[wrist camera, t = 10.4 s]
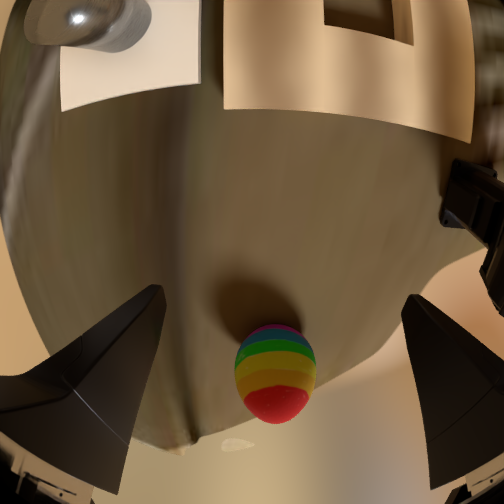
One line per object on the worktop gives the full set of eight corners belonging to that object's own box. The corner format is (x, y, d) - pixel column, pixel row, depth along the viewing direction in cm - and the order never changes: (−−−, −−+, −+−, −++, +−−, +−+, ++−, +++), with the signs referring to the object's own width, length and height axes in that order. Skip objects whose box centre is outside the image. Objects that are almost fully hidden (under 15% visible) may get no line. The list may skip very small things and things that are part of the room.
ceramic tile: (203, -45, 10) (201, -49, 9) (201, 83, 16) (198, 82, 15) (71, -5, 10) (66, -7, 9) (67, 110, 16) (61, 111, 16)
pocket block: (439, -34, 7) (455, -42, 5) (449, 136, 16) (470, 143, 14) (231, -76, 8) (227, -94, 5) (229, 108, 17) (223, 109, 14)
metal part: (153, -10, 11) (100, -50, 4) (150, 44, 14) (88, 22, 7) (95, 8, 11) (30, -11, 4) (93, 60, 14) (20, 57, 7)
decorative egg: (222, 330, 28) (210, 413, 20) (291, 303, 26) (300, 393, 17) (261, 368, 32) (259, 440, 23) (322, 346, 29) (334, 423, 21)
